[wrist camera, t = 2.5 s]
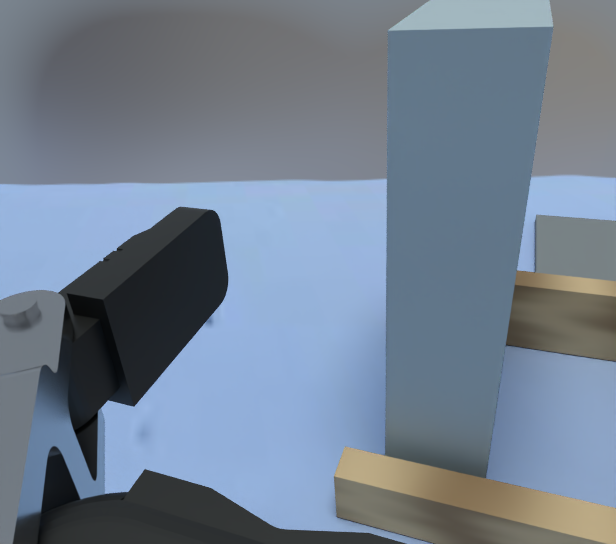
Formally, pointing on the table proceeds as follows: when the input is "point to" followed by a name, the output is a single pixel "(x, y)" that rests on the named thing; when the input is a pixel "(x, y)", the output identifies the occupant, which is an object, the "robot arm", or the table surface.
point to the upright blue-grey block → (456, 216)
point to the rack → (484, 492)
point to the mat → (575, 247)
